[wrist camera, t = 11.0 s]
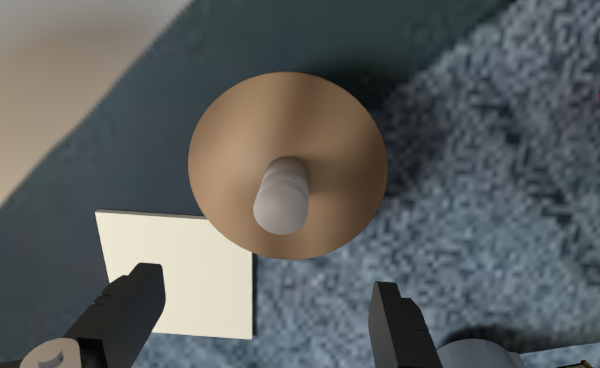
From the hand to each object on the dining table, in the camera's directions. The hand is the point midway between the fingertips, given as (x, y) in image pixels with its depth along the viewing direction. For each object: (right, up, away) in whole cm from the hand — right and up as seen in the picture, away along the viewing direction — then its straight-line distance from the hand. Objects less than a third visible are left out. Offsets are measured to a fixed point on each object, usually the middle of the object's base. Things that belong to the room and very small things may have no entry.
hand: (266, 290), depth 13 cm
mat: (-11, -6, +23) cm, 26 cm away
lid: (0, +5, +11) cm, 12 cm away
